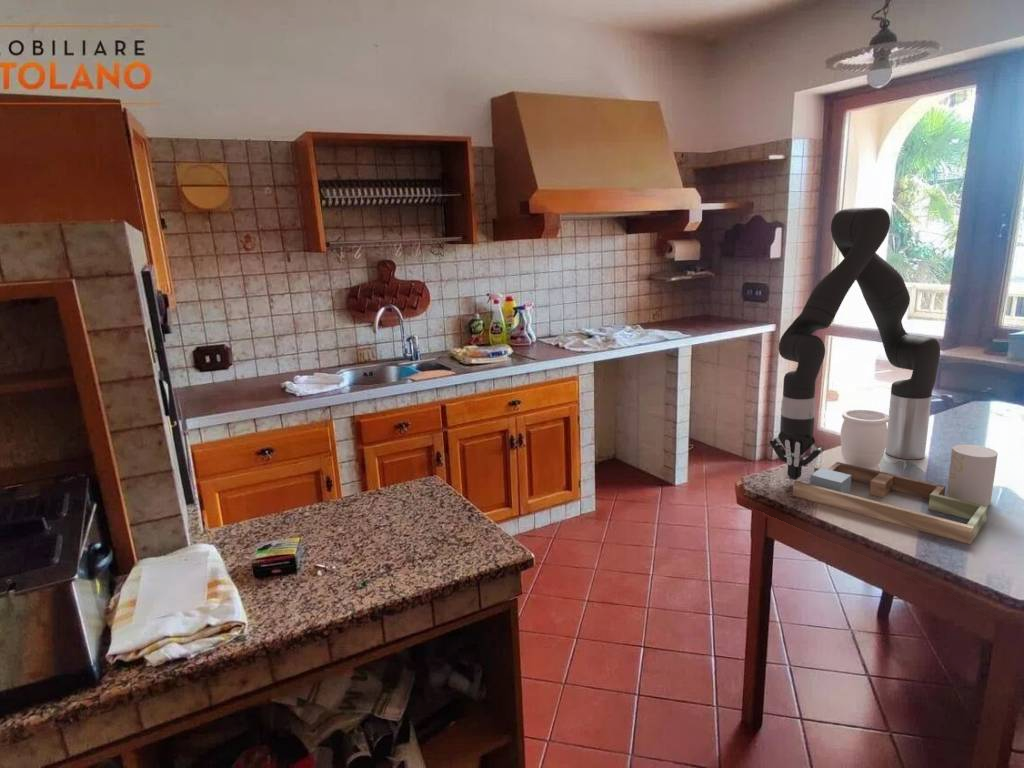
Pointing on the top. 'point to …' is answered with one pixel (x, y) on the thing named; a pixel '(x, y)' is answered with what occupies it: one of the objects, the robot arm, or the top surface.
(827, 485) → the block
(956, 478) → the white cylinder
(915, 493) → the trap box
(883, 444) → the jar
